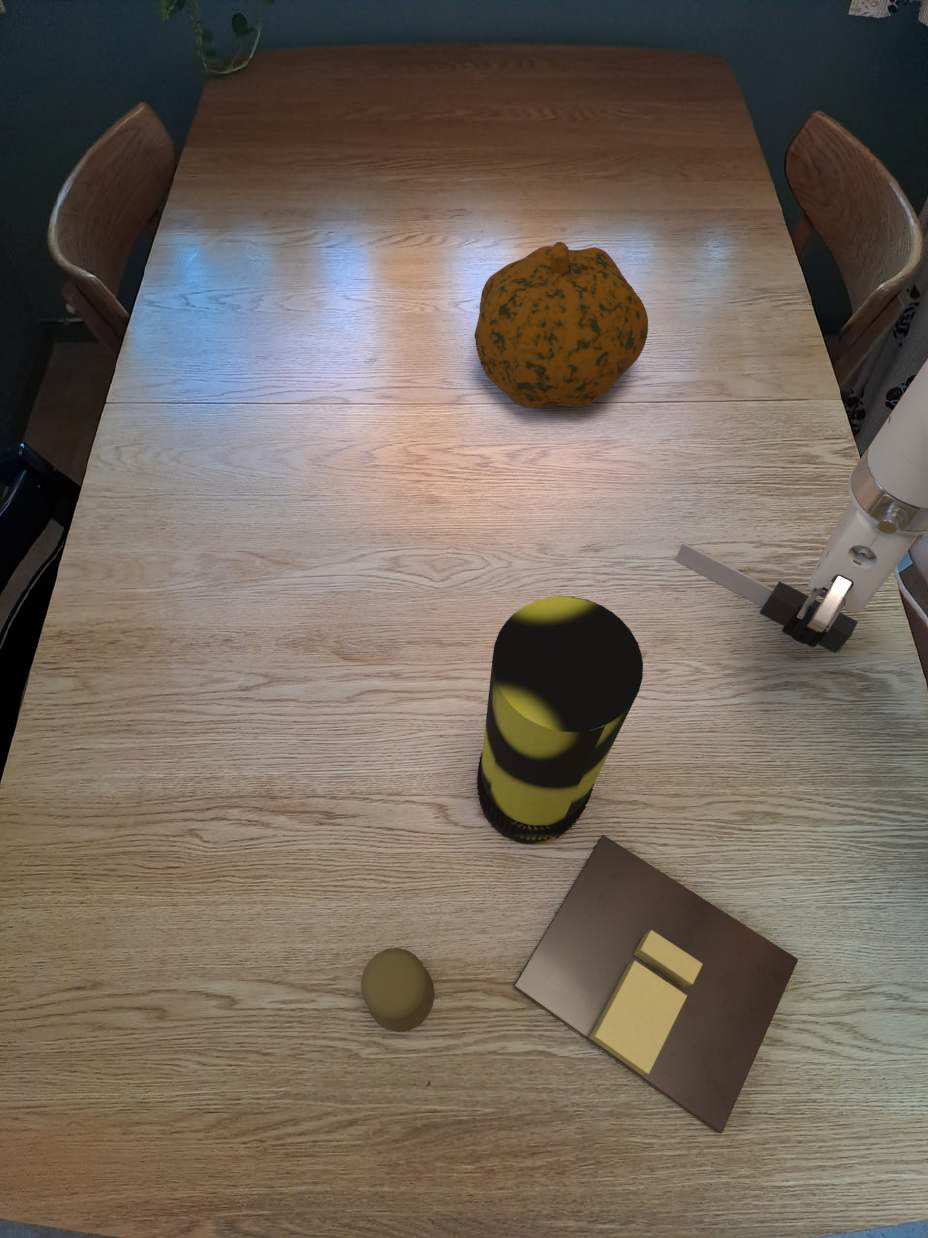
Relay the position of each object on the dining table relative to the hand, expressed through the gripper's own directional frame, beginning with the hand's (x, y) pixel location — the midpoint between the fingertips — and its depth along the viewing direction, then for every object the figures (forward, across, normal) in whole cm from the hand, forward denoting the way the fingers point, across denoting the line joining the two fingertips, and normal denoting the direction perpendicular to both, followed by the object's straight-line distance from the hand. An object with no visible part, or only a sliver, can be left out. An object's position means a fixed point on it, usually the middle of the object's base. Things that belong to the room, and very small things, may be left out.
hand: (818, 598), depth 78 cm
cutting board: (+15, -34, -4) cm, 37 cm away
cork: (+15, -48, +15) cm, 52 cm away
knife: (+15, +7, +4) cm, 17 cm away
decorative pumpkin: (+15, +24, +40) cm, 49 cm away
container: (+15, -26, +14) cm, 33 cm away
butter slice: (+13, -33, -4) cm, 36 cm away
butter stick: (+13, -39, -4) cm, 41 cm away
